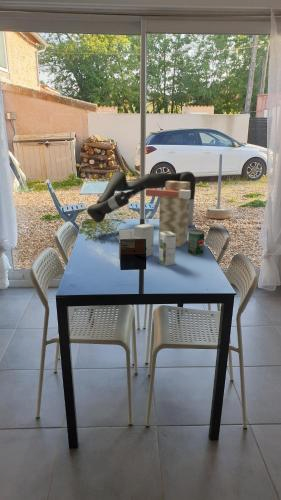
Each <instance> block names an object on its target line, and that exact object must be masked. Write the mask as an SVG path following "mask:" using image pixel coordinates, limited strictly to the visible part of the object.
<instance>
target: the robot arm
mask: <svg viewBox="0 0 281 500" xmlns="http://www.w3.org/2000/svg"><path fill="white" fill-rule="evenodd" d="M166 181H183V182H190V190H191V195H190V199H189V218H188V228H190V227H189V226H191V227H193V226H194V214H195V213H194V209H195V194H196V182H197V181H196V177H195V175H194V174H193V172H192V171H181V172H176V173H175V172H174V173H167V172H166V173H165V172H164V173H159V172H158V173H155V172H154V173H153V172H151V173H146V174H144V175H142V176H140V177H139V178H137V179H135V180H132V181H127V175H126V174H125V172H123V171H119V170H118V171H115V172H113V173H112V175H111V176H110V179H109V181H108V183H107V185H106V187H105V189H104V191H103V192H102V194H101V196H100V197H99V198H98V200H97V201H96V203H93V204H91V205H90V206H88V208H87V209H86V212H87V214H88V215H89V217H90V218H91V219H92V220H93V221H94V222H95V223H97V224H98V223H102V222H103V221H104V219H105V218H106V215H109V214H111V213H112V212H115V211H117V210H118V209H121V208H123V207H125V206H127V205H128V204H129V203H130V202H129V201H130V199H132V198H134V197H135V196H137V195H138V194H139V193H142V192H143V191H144V190H146V189H162V188H163V189H164V188H165V182H166ZM116 192H117V193H116Z"/></svg>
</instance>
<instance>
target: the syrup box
mask: <svg viewBox="0 0 281 500" xmlns="http://www.w3.org/2000/svg"><path fill="white" fill-rule="evenodd" d="M175 243H176V234H174V233H172V232H171V231H164V232H160V242H159V241H158V245H159V246H158V247H159V249H158V250H159V251H158V263H160V265H162V266H163V267H165V266H172V265H175V257H176V246H175Z"/></svg>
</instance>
